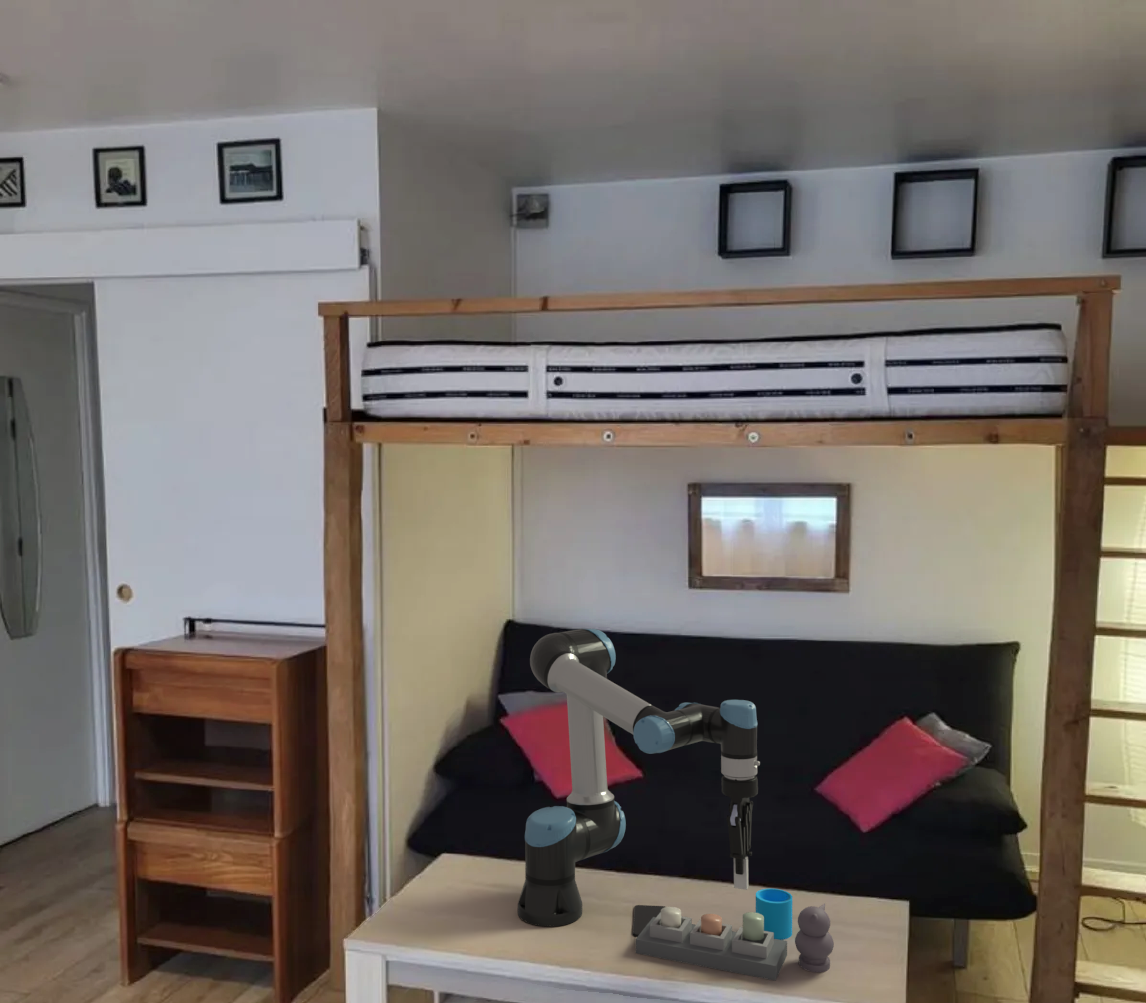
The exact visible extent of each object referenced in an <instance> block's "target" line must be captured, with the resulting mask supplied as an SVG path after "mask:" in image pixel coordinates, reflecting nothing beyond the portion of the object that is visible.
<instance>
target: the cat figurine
mask: <svg viewBox="0 0 1146 1003" xmlns="http://www.w3.org/2000/svg"><path fill="white" fill-rule="evenodd" d="M797 924H798V928H799V931H797V933H796V935H795V937H794V944H795V948H796V950H797V951H798V953H799V955H798V965H799V967H800V968H802V969H803V970H805V971H808V972H812V973H824V972H827V971H828V970H830V968H831V959H830V957H829V956H830V955H831V954H832V953H833V950H834V947H835V942H834V939H833V936H832V935H831V933H829V930H830V927H831V919H830V916H829V914H828V913H827V912H826V903H823V904H822V905H819V906H815V905H811V906H807V907H805V908H804V909H802V910H801V911H800V912H799V915H798V917H797Z"/></svg>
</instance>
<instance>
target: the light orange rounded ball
mask: <svg viewBox="0 0 1146 1003" xmlns="http://www.w3.org/2000/svg"><path fill="white" fill-rule="evenodd" d="M700 919H701V933H705V934H711V935H716V936H721V934H722V923H723V918H722V916H720V915H719V914H716V913H706V914H703V915H701V917H700Z"/></svg>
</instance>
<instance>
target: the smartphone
mask: <svg viewBox="0 0 1146 1003" xmlns="http://www.w3.org/2000/svg"><path fill="white" fill-rule="evenodd" d="M664 907H666V906H664V905H650V904H649V905H646V904H637V905H635V906H634V910H633V923H632V936H633V937H635V938H637V937H638V936H639V934H640V933H641V932H642V931H643V929H644V928H645V927H646V925H647V924H648V923H649V922H650V920H651V919H652V918H653V917H657V916H658V915H659V913H660V912H661V909H662V908H664Z"/></svg>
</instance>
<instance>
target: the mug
mask: <svg viewBox="0 0 1146 1003" xmlns="http://www.w3.org/2000/svg"><path fill="white" fill-rule="evenodd" d="M755 913H759V914H761V915H763V916H764V931H768V932H773V933H774V939H778V940H787V939H790V938H791V937H792V936H793V894H791V893H789V892H788V891H786V890H783V889H779V888H762V889H759V890H757V891H756V892H755Z"/></svg>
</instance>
